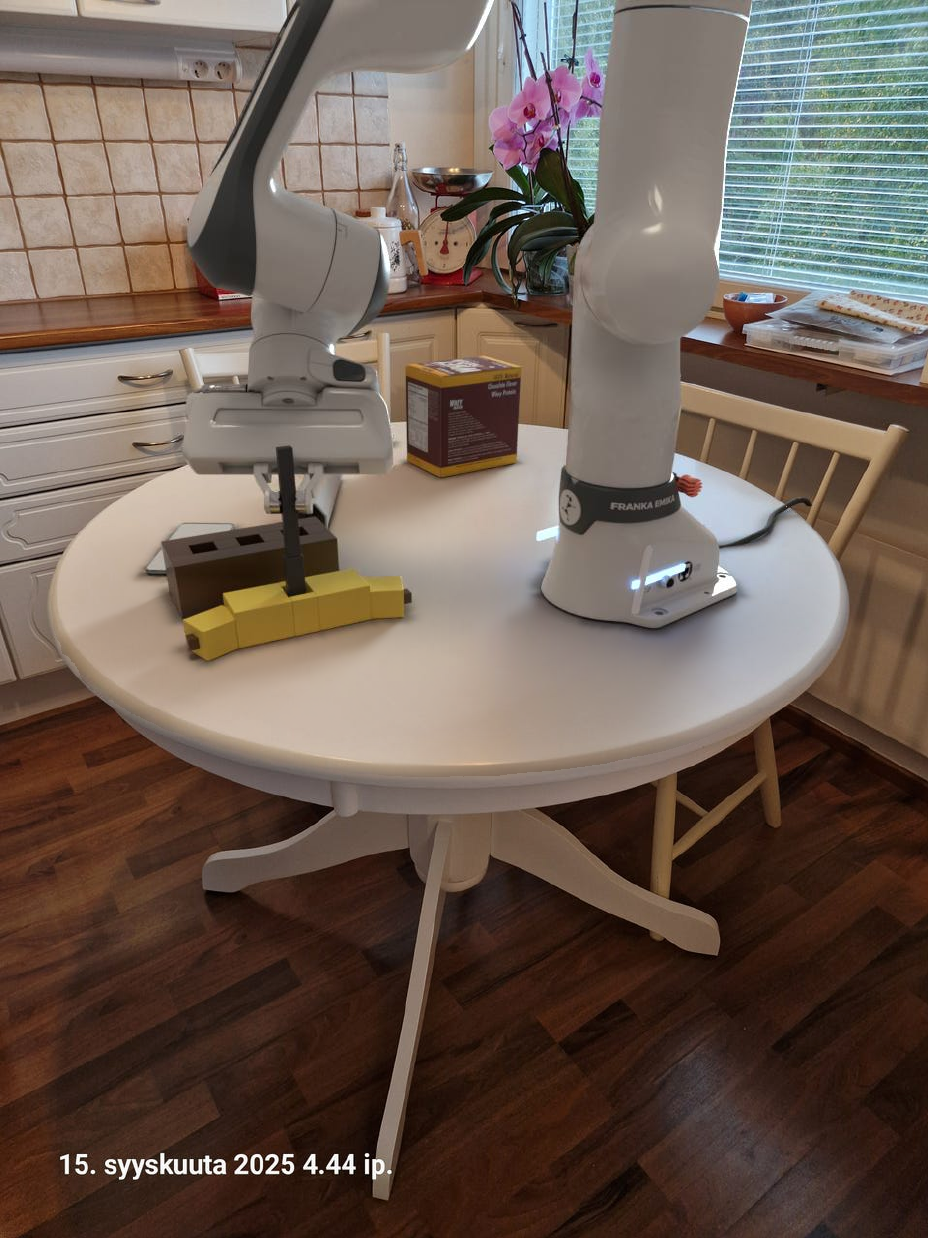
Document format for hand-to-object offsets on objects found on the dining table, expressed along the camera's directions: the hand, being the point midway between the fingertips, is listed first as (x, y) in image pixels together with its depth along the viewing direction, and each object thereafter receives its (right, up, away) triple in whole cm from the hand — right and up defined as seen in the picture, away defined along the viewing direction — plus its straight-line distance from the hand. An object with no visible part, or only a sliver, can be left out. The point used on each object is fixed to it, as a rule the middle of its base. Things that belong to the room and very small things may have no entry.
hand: (288, 511), depth 78 cm
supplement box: (+17, +15, +56) cm, 61 cm away
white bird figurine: (+2, +20, +65) cm, 68 cm away
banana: (0, -11, +6) cm, 13 cm away
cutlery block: (-7, -7, +13) cm, 16 cm away
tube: (-4, +5, +37) cm, 37 cm away
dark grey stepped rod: (0, -8, +5) cm, 10 cm away
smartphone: (-17, -2, +23) cm, 28 cm away
